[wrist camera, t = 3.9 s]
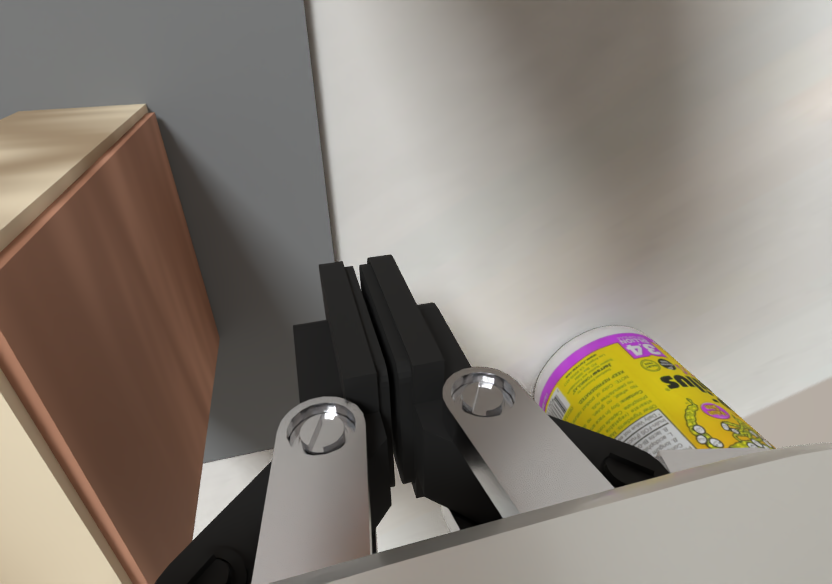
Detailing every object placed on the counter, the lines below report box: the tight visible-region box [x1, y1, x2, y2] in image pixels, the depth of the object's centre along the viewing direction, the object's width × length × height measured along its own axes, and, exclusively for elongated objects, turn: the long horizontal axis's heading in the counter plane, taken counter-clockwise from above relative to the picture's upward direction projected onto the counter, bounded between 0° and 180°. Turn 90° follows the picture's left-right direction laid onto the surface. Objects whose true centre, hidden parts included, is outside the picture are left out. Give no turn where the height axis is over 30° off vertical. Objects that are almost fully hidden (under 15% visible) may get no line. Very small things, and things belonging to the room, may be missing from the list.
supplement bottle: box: [534, 325, 776, 457], centre depth 19 cm, size 7×7×13 cm
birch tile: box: [0, 104, 220, 584], centre depth 11 cm, size 3×8×10 cm, turn 1°
